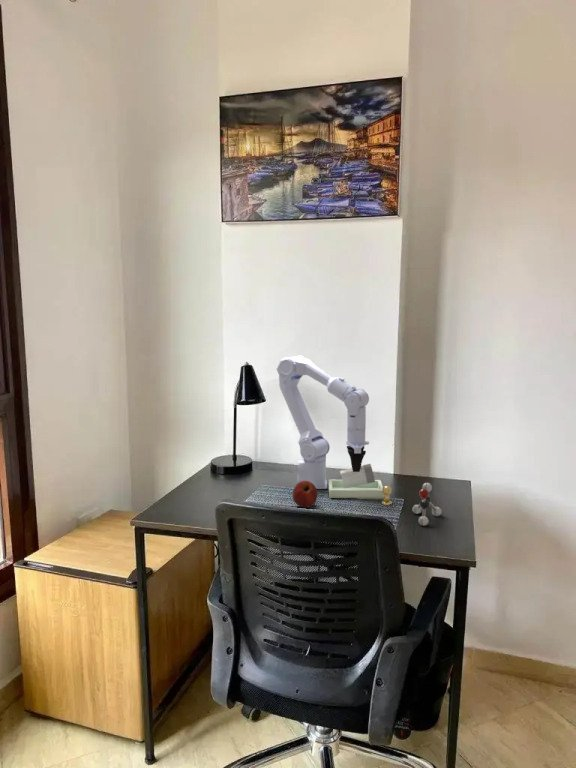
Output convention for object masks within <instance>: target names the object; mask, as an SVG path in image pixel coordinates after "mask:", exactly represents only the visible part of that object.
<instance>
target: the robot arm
mask: <svg viewBox="0 0 576 768" xmlns="http://www.w3.org/2000/svg"><path fill="white" fill-rule="evenodd" d="M276 371H277V373H278V380H279V381H278V382H279V383H278V384H279V389H280V391H281V393H282V396H283V399H284V400H285V403H286V405H287V407H288V410H289V412H290V414H291V417H292V419H293V421H294V424H295V426H296V428H297V430H298V433H299V439H298V441H297V442H298V445H299V453H300V456H301V457H302V459H298V461H297V465H298V466H297V468H298V469H297V478H296V480H297V484H298V483H299V482H301V481H309V482H311V483H312V484H314V486H315V487H316V489H317V490H318V489H319V490H326V489H328V481H327V478H326V477H327V475H326V474H327V473H326V471H327V465H326V464H327V454H329V452H330V447H331V446H330V443H329V441H328V439H327V438H325V436H324V434H323V433H322V432H321V431H320V430H318V429H317V428H316V427H315V424H314V422H313V420H312V418H311V414H310V413H309V410H308V408H307V406H306V404H305V402H304V399H303V397H302V394H301V393H300V389H299V387H298V384H299V382H300V380H301V379H302V377H303V376H308V377H310V378H311V379H313V380H315V381H316V382H318V383H320V384H322V385H323V386H325V387H326V389H327V392H328V393H329V394H331V395H333V396H334V397H335V398H337V399H338V400H340V401H342V402H343V403H344V406H345V408H346V409H347V421H346V423H347V424H346V425H347V426H346V427H347V428H346V429H347V430H346V433H347V434H346V449H347V453H348V456H349V457H350V464H351V468H352V470H353V472H360V468H361V466H362V463H363V459H364V457H365V455H366V453H367V452H366V450H364V449H365V446H366V445H370V441H369V440H366V428H367V427H366V423H367V422H366V421H367V420H366V418H367V415H366V414H367V413H366V412H367V411H366V410H367V408H366V406H367V405H368V404H369V401H370V397H369V394H368V393H367V391H366V390H364V389H363V388H357V386H355V385H351V384H350V383H348V382H347V381H345V378H344V377H342V376H341V377H339V376H336V377H332V376H331V375H329V374H328V373H327V372H325V371H324V370H322V368H320V367H319V366H317V365H316V364H314V363H313V362H312V361H311V359H309V358H306V357H305V356H303V355H297V356H290V357H283V358H281V359H280V360H279V362H278V365H277V368H276Z"/></svg>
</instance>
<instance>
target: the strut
mask: <svg viewBox="0 0 576 768" xmlns="http://www.w3.org/2000/svg"><path fill="white" fill-rule="evenodd" d="M339 474H340V476H341V480H342V482H343V486H344V489H345V488H349V487H354V486H358V485H362V484H366V483H372V482H375V480H376V479H375V476H374V472H373V468H372V465H371V463H367V464H363V465H361V468H360V472H353V470H352V467H351V468H347V469H344V470H343V469H342V470H339Z"/></svg>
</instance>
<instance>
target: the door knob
mask: <svg viewBox="0 0 576 768" xmlns="http://www.w3.org/2000/svg"><path fill="white" fill-rule="evenodd" d="M382 492H383V494H384V499H383V500H382V501H381V505H382V504H384V505H383V506H386V505H389V506H391V505H392V501H391V500H390V495H391V494H392V488H391V486H390V485H385V486H384V485H383V489H382ZM390 504H391V505H390Z"/></svg>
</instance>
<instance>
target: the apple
mask: <svg viewBox="0 0 576 768" xmlns="http://www.w3.org/2000/svg"><path fill="white" fill-rule="evenodd" d="M317 499H318V489H316V487H315V486H314V484H312V483H311V482H309V481H301V482H299V483H298V482H297V484H296V485H295V486H294V489H293V491H292V500H293V502H294V503H295V504H296V505H297V506H299V507H301V508H310V507H312V506H313V505H314V504H315V503H316V501H317Z"/></svg>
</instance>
